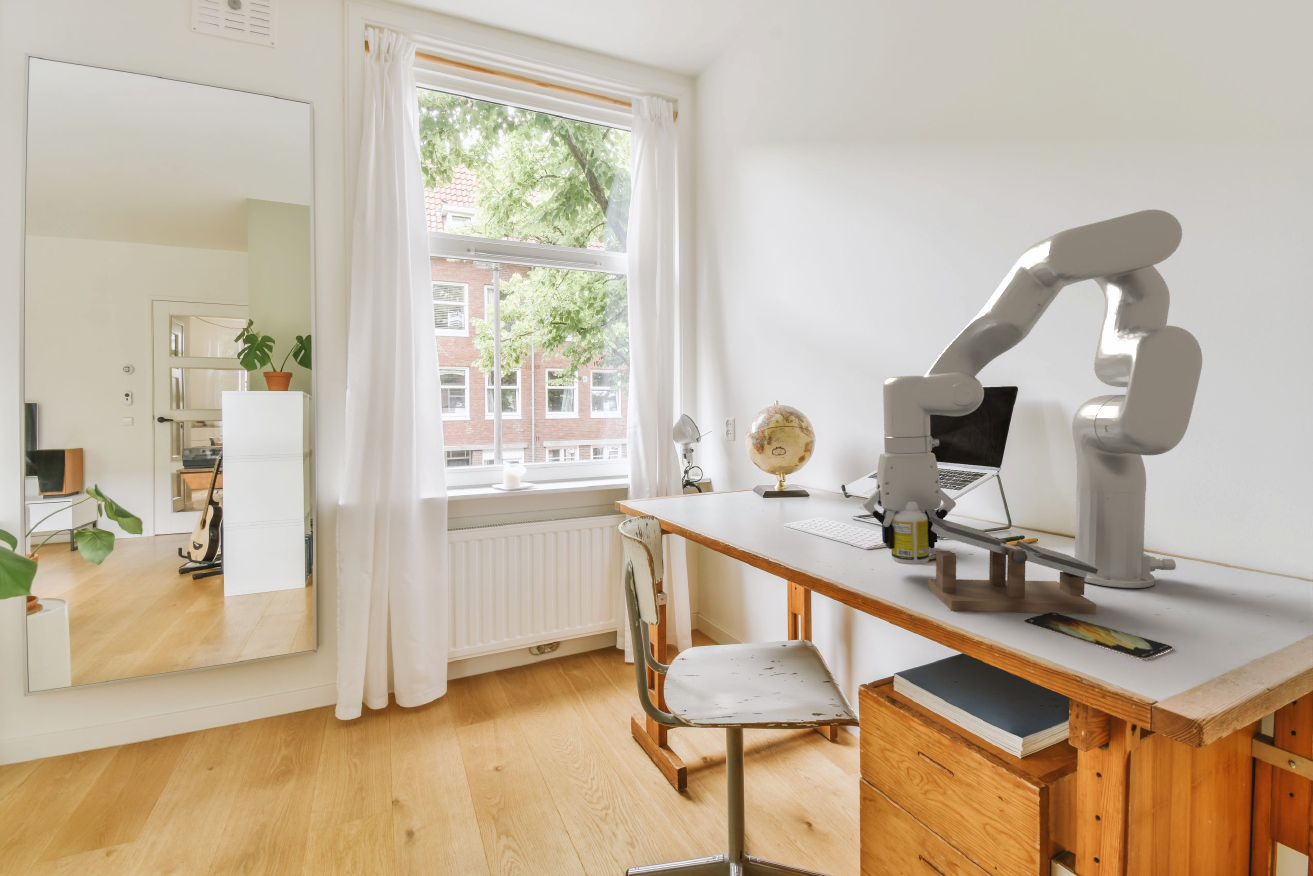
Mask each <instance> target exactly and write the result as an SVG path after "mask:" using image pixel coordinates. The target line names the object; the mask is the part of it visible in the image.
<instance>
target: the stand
mask: <svg viewBox="0 0 1313 876" xmlns="http://www.w3.org/2000/svg"><path fill="white" fill-rule="evenodd" d="M993 537H994V538H996V539H998V540H1000V541H1002V542H1001V543H1005V544H1007V541H1006V540H1005V539H1000V538H999V537H997V536H996V537H995V536H993ZM935 554H936V556H935V557H936V558H935V560H936V561H935V578H927V588H928V589H929V591H931V592H932V593H933V594H934V595H935V596H936V597H937V598H938V599H939V600H940V602H942V603H943V604H944V605H945V606H946V607H947V608H949V610H950V611H954V612H955V611H956V612H957V611H958V612H995V613H996V612H999V613H1002V612H1003V613H1033V614H1034V613H1035V614H1036V613H1039V614H1041V613H1043V614H1046V613H1057V614H1078V615H1079V614H1081V615H1083V614H1084V615H1096V614H1097V602H1096V603H1095V602H1094V601H1091V600H1090V599H1088V598H1086V597H1085V583H1086V582H1085V578H1084V577H1081V576H1077V575H1074V574H1070V573H1067V572H1063V571H1059V582H1058V581H1056V580H1026V562H1027V561H1026V560H1027V554H1026V551H1024V550H1022V549H1008V555H1005V554H1001V553H998V552H994V551H991V550H989V576H988V577H989V578H988V579H965V578H964V579H961V578H959V579H957V555H956V554H955V553H953V552H952V551H951V550H936V553H935Z"/></svg>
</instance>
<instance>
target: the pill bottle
mask: <svg viewBox="0 0 1313 876" xmlns="http://www.w3.org/2000/svg"><path fill="white" fill-rule="evenodd" d="M905 508H906V509H905V511H895V514H894V516H893V519H892V521H891V526H892V527H893V531H894V548H893V549H890V550H891V552H890V553H891V559H892V561H893V562H895V563H898V564H903V565H909V566H910V565H911V566H913V565H915V566H916V565H918V566H919V565H924V564H926V563H928V561H929V559H930V552H929V551H930V550H929V549H930V547H929V543H928V518H927V515H926V513H924V512H923V511H919V510H916V509H918V505H917V503H916V502H908V503H907V505H906V507H905Z"/></svg>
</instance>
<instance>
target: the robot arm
mask: <svg viewBox="0 0 1313 876" xmlns="http://www.w3.org/2000/svg"><path fill="white" fill-rule="evenodd" d="M1182 236H1183V229H1182V225H1181V223H1180V221H1179V219H1178V218H1177V217H1176V216H1174V215H1173V214H1171V213H1170V212H1167V211H1165V210H1162V209H1161V210H1160V209H1145V210H1140V211H1137V212H1136V211H1135V212H1131V213H1129V214H1124V215H1122V216H1118V217H1113V218H1110V219H1109V218H1108V219H1105V220H1101V221H1098V222H1097V221H1096V222H1093V223H1090V224H1089V223H1088V224H1085V225H1080V226H1076V227H1073V228H1069V229H1065V230H1061V231H1059V232H1058V233H1055V234H1053V235H1050V236H1049V237H1047V238H1045V239H1042V240H1040V241H1039V242H1036V243H1034V244H1033V245H1031V246H1029V247H1028V248H1027V249H1026V250H1024V252H1023V253H1021V254H1020V256H1019V257H1018V258H1017V260H1016V261H1015V263H1014V264H1013V265H1012V267H1011V268H1010V269H1009V271H1008V272H1007V274H1006V275H1005V276H1004V278H1003V280H1001V282H1000V283H999V285H998V286H997V287H996V288H995V291H994V292H993V293H992V294H991V296H990V297H989V298H988V300H987V301H986V302H985V304H984V305H983V307H982V308H981V310H979V312H978V313H977V314H976V315H975V316H974V317H973V318H972V319H971V320H970V321H969V322H968V323H967V324H966V326H965V327H964V328H963V329H962V330H961V331H960V333H959V334H957V336H956V337H955V338H954V339H953V340H952V341H951V342H950V343H949V344H948V345H947V346H946V348H945V349H943V351H941V354H940V355H939V356H938V358H937V359H936V360H935V361H934V363H933V364H932V366H931V367H930V368H929V370H928V371H927V373H926V374H925V375H924V376H923V375H903V376H892V377H888V378H887V379H886V380H885V381H884V382H883V384H882V385H883V386H882V392H883V393H882V395H883V396H882V398H883V399H882V401H883V431H884V432H883V434H884V437H883V439H884V453H881V454H879V457H878V463H877V472H876V473H877V474H876V489H875V491H874V492H873V493H872V494H871V495H870V496H868V498H867V499H865V501H864V502H863V503H862V507H863V508H864V509H865V510H866V511H867V512H868V513H869V514H870V515H871V516H872V517H873V518H875V519H876V520H877V521H878V522H879V523H880V524H881V541H882V543H883V544H884V545H885V546H886V548H888V549H889V550H891V549H893V548H894V531H893V527H892V526H891V521H892V519H893V516H894V514H895V511H905V509H906V508H905V507H906V505H907V503H908V502H916V503H917V505H918V509H916V510H919V511H924V513H926V515H927V518H928V543H929V549H936V548H935V547H936V543H937V542H938V534H936V533H935V532H933V531H932V530H931V528H932V525H933V523H932V522H931V521H929V519H930V516H933V517H937V518H940V519H944V518H945V517H947V515H948V513H950V512H951V511H952V510H953V509H954V508H955V507H956V506H957V503H956V502H955V500H954V499H952V498H951V497H950V496H949V495H948V494H947V493H945V491H943V490H942V489H941V481H940V474H939V473H940V472H939V468H938V462H937V458H936V455H935V453H933V452H931V451H933V448H935V447H939V446H940V439H939V438H933V436H932V435H931V415H933V416H934V415H937V416H949V417H962V416H966V415H969V414H971V413H973V412H974V411H976V410H977V409H978V408H979V407H980V406H981V404H982V402H983V400H984V397H985V389H984V387H983V384H982V383H981V381H980V380H979V379H978V378H977V377H976V376H977V375H978V374H979V373H980V372H981V371H982V370H983V369H984V368H985V367H986V366H987V365H988V364H990V363H991V362H992V361H994V360H995V359H996V358H998V357H999V356H1001V355H1003V354H1004V353H1006V352H1008V351H1010V350H1011V349H1012V348H1014V347H1016V346H1017V345H1018V344H1019V343H1021V342H1022V341H1024V339H1025V338H1027V337H1028V335H1029V334H1030V333H1031V331H1032V330H1033V328H1034V327H1035V326H1036V324H1037V323H1038V321H1039V320H1040V319H1041V317H1042V316H1043V315H1044V313H1046V311H1047V310H1048V308H1049V307H1050V306H1051V304H1052V302H1054V300H1055V299H1056V297H1057V296H1058V295H1059V293H1060V292H1061V291H1062V290H1063V288H1064V287H1066V286H1069V285H1073V284H1077V283H1080V282H1084V281H1087V280H1094V281H1095V282H1096V284H1097V285H1098V286H1099V288H1100V289H1101V291H1102V292H1103V296H1104V300H1105V305H1104V306H1105V308H1104V314H1103V315H1104V316H1103V321H1102V326H1101V330H1100V334H1099V339H1098V342H1097V343H1098V344H1097V347H1096V353H1095V357H1094V363H1093V365H1094V368H1093V369H1094V373H1095V376H1096V378H1097V379H1098V380H1099V381H1100V382H1102V383H1103V384H1106V385H1108V386H1110V387H1116V388H1126V392H1125V394H1106V395H1100V396H1096V397H1093V398H1091V399H1088V400H1087V401H1086V402H1084V403H1082V404H1081V405H1080V406H1079V408H1078V409H1077V410H1076V412H1075V413H1074V415H1073V420H1072V424H1071V426H1072V427H1071V428H1072V429H1071V431H1072V438H1073V442H1074V448H1075V449H1074V450H1075V454H1076V491H1075V492H1076V494H1075V496H1076V499H1075V527H1074V529H1075V531H1074V539H1075V540H1074V558H1075V559H1077V560H1080V561H1082V562H1084V563H1086V564H1088V565H1090V566H1092V567H1094V568H1097V569H1098V571H1097V574H1093V573H1090V572H1088V573H1087V576H1086V578H1085V583H1088V584H1093V585H1098V586H1103V587H1111V588H1119V589H1121V588H1122V589H1145V588H1149V587H1152V586H1154V585H1155V583H1156V581H1155V580H1156V579H1155V575H1153V574H1151V572H1153V573H1154V572H1155V571H1156V570H1161V571H1175V570H1176V567H1177V563H1176V561H1175V560H1174V559H1173V558H1157V557H1156V556H1151V555H1148V554H1146V553H1144V550H1145V549H1144V548H1145V520H1146V518H1145V517H1146V491H1147V473H1146V467H1145V464H1144V461H1143V457H1142V456H1158V455H1163V454H1165V453H1168V452H1170V451H1172V450H1173V449H1174V448H1176V446H1178V445H1179V443H1181V441H1182V439H1183V438H1184V436H1185V435H1186V433H1187V430H1188V427H1189V423H1190V421H1191V416H1192V413H1193V408H1194V403H1195V399H1196V395H1197V391H1198V387H1199V384H1200V383H1199V382H1200V378H1201V373H1202V368H1203V354H1202V349H1201V345H1200V343H1199V342H1198V340H1197V339H1196V337H1195V336H1194V334H1192V333H1191V332H1189V331H1188V330H1187V329H1184V328H1183V327H1179V326H1176V325H1167V324H1168V323H1167V322H1168V316H1169V310H1170V301H1171V299H1170V298H1171V297H1170V291H1169V286H1168V285H1167V283H1166V280H1165V279H1164V277H1163V276H1162V274H1161V273H1160V272H1159V271H1158V270H1157V268H1156V267H1155V266H1156V265H1158V264H1160V263H1162V262H1164V261H1165V260H1167V259H1168V258H1170V257H1171V256H1172V255H1173V254H1174V253H1175V252H1176V251H1177V250H1178V248H1179V246H1180V244H1181V242H1182V238H1183V237H1182ZM942 502H943V504H942ZM876 504H877V505H878V506H879V507H881V508H882V509H883V510H882V513H881V512H880V511H879V510H878V509H876V508H875V505H876Z"/></svg>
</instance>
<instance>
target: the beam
mask: <svg viewBox="0 0 1313 876" xmlns="http://www.w3.org/2000/svg"><path fill="white" fill-rule="evenodd" d="M929 521H931V522H932V523H933V525H932V528H931V530H932V531H933V532H935V533H936V534H937V536H939V537H943V538H945V539H949V540H953V541H956V542H961V543H964V544H966V545H970V546H974V547H978V548H981V549H985V550H988V551H990V550H991V551H994V552H998V553H1001V554H1005V555H1006V556H1008V549H1022V550H1024V551H1026V554H1027V560H1026V562H1030V563H1031V564H1036V565H1039V566H1043V567H1047V568H1050V569H1054V570H1057V571H1059V572H1067V573H1070V574H1074V575H1077V576H1081V577H1084V578H1086V576H1087V573H1088V572H1090V573H1093V574H1097V571H1098V569H1097V568H1094V567H1092V566H1090V565H1088V564H1086V563H1084V562H1082V561H1080V560H1077V559H1075V557H1074V556H1071V555H1068V554H1066V553H1062V552H1059V551H1055V550H1052V549H1047V548H1044V547H1041V546H1038V545H1035V544H1034V545H1033V544H1030V543H1027V542H1023V541H1020V540H1017V541H1016V545H1012V544H1008V543H1006V544H1005V543H1001V542H1002V541H1000V540H1001V539H1000V540H998V539H996V538H994V537H995V536H992V535H991V534H989V533H987V532H986V531H985V532H984V531H982V530H981V529H978V528H974V527H972V526H967V525H964V524H960V523H957V522H953V521H950V520H946V519H944V518H943V519H940V518H937V517H933V516H930V519H929Z"/></svg>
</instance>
